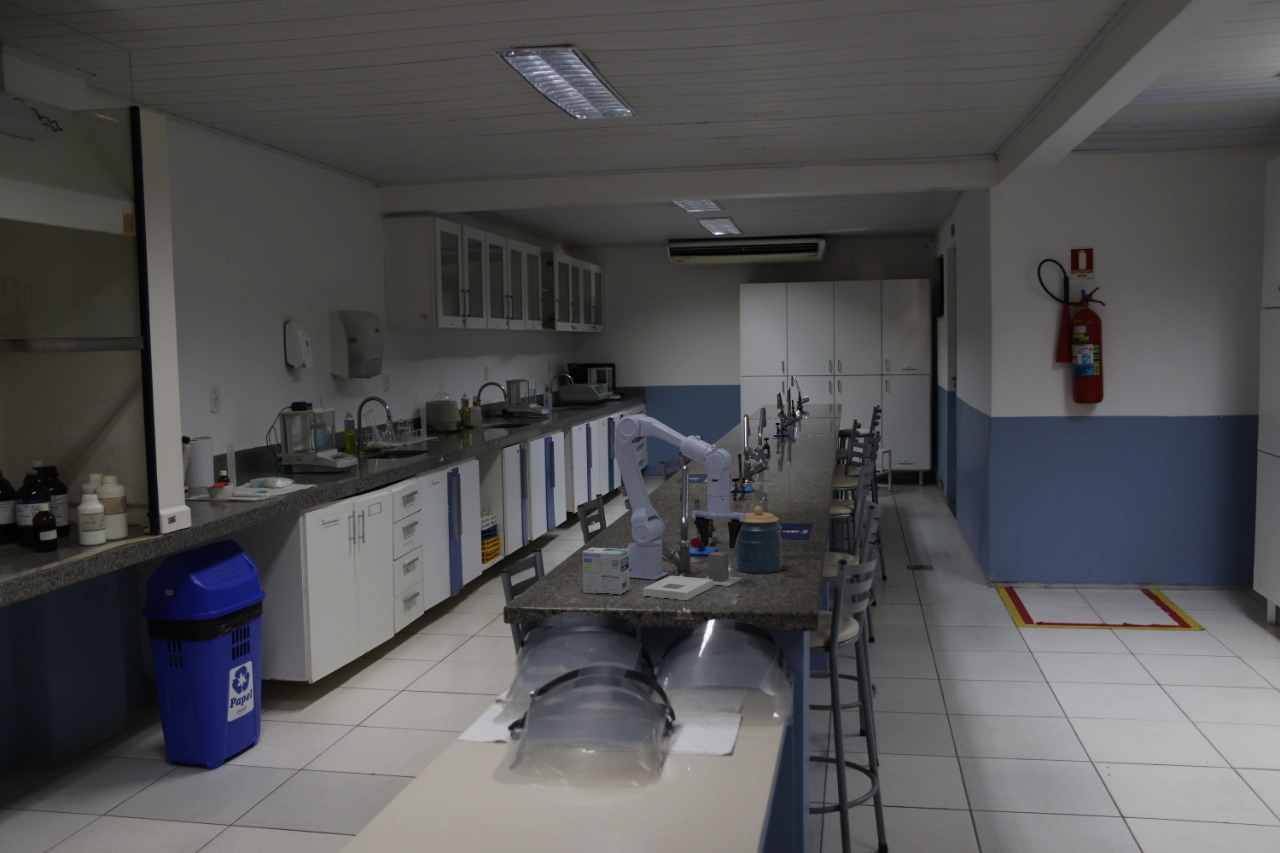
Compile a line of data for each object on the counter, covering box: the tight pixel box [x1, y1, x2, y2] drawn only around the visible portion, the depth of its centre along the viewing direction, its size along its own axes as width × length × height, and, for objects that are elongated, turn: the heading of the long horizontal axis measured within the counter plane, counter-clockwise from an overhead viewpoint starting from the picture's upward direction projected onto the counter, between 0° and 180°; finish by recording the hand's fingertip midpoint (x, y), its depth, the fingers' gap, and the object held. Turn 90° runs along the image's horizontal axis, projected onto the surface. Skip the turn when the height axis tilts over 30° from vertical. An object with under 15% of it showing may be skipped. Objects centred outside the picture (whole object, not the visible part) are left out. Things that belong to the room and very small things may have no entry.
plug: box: [708, 551, 730, 582], centre depth 265 cm, size 4×4×7 cm
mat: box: [703, 575, 743, 587], centre depth 266 cm, size 9×9×1 cm
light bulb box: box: [581, 546, 631, 595], centre depth 257 cm, size 11×7×11 cm, turn 71°
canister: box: [735, 505, 783, 574], centre depth 280 cm, size 13×13×18 cm
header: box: [642, 575, 714, 601], centre depth 255 cm, size 12×16×2 cm
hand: (718, 546), depth 265 cm, fingers open, 7 cm apart
